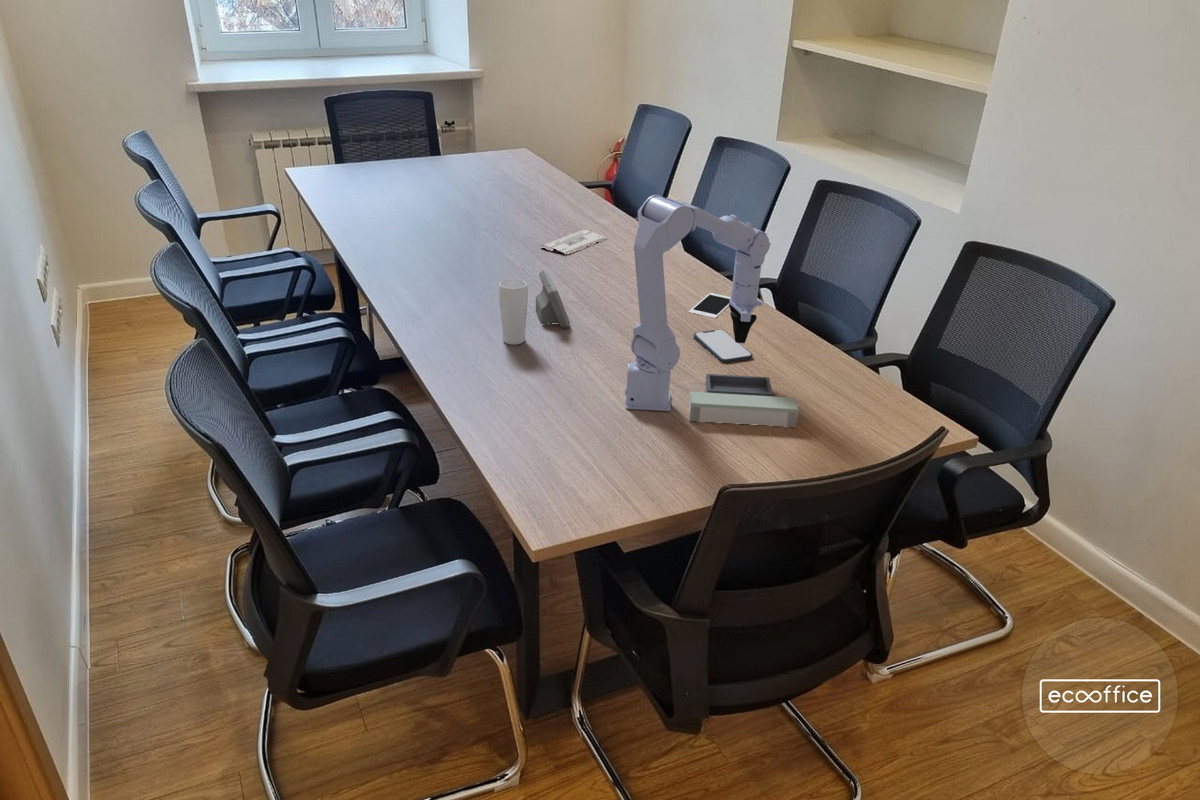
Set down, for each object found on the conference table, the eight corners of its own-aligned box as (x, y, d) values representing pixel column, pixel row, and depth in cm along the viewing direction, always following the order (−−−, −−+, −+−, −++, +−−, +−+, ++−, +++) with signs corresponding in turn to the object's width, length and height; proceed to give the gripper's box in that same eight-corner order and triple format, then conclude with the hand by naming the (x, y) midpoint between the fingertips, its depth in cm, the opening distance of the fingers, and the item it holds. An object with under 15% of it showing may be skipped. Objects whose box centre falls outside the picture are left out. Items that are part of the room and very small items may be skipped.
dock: (689, 421, 182) (691, 403, 179) (688, 406, 187) (690, 388, 185) (795, 427, 181) (798, 409, 179) (791, 412, 186) (794, 394, 184)
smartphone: (754, 361, 209) (722, 334, 222) (755, 355, 209) (723, 328, 221) (721, 366, 206) (691, 338, 219) (722, 360, 206) (691, 332, 218)
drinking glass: (516, 333, 218) (515, 276, 210) (533, 341, 213) (533, 284, 206) (494, 340, 213) (492, 282, 206) (512, 349, 209) (511, 291, 202)
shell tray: (706, 400, 190) (707, 390, 188) (705, 384, 197) (706, 373, 195) (771, 404, 189) (772, 394, 188) (767, 387, 196) (769, 377, 195)
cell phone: (687, 313, 233) (688, 311, 233) (709, 294, 246) (710, 292, 246) (715, 320, 230) (715, 317, 230) (736, 300, 243) (736, 298, 242)
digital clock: (569, 330, 220) (570, 291, 215) (534, 330, 220) (533, 290, 215) (569, 305, 234) (570, 268, 229) (536, 305, 234) (536, 267, 229)
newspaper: (577, 233, 291) (577, 226, 290) (606, 244, 286) (607, 237, 285) (533, 249, 275) (534, 242, 274) (563, 262, 269) (564, 254, 268)
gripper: (768, 295, 183) (760, 353, 190) (761, 271, 196) (754, 326, 202) (734, 293, 184) (727, 351, 190) (729, 269, 196) (723, 324, 203)
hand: (739, 338), depth 196 cm, fingers open, 3 cm apart
